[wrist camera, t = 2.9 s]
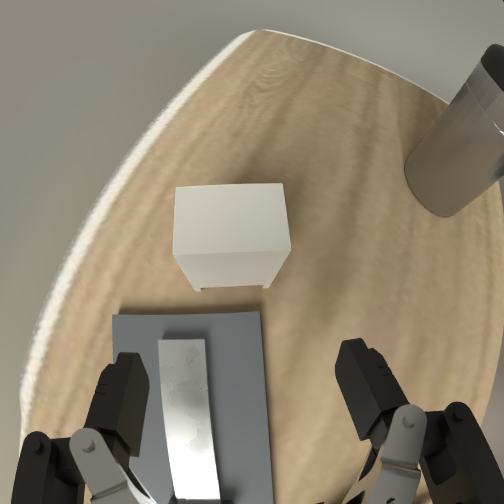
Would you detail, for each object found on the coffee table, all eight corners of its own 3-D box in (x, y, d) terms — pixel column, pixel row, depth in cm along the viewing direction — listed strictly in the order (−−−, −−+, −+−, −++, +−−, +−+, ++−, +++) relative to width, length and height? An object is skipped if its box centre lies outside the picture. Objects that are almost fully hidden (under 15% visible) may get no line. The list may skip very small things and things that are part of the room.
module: (264, 240, 24) (281, 180, 16) (268, 288, 23) (291, 249, 14) (195, 243, 24) (176, 184, 15) (195, 291, 23) (172, 254, 14)
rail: (216, 339, 20) (214, 338, 18) (233, 511, 15) (233, 525, 13) (151, 339, 20) (141, 338, 18) (172, 509, 15) (167, 523, 13)
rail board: (258, 312, 22) (259, 311, 21) (273, 517, 16) (274, 522, 15) (117, 315, 21) (112, 314, 20) (143, 514, 15) (140, 519, 14)
